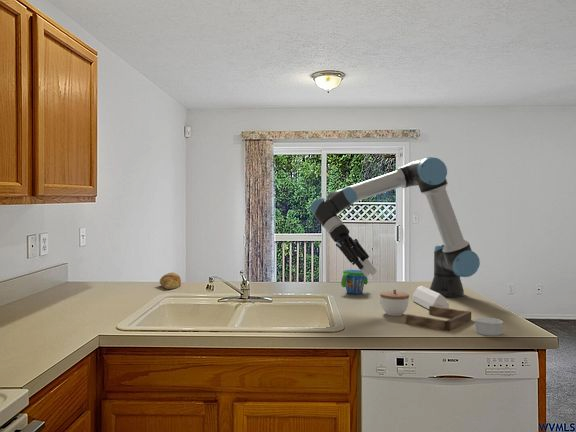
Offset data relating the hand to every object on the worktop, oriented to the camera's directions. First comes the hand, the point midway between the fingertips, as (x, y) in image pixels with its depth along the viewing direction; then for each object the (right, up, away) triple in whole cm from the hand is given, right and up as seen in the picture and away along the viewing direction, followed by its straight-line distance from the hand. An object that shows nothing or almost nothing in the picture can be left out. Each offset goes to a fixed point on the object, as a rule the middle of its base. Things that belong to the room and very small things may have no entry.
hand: (371, 273), depth 197 cm
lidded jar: (+8, -15, -6) cm, 18 cm away
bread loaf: (-90, -12, +47) cm, 102 cm away
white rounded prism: (+25, -15, +9) cm, 31 cm away
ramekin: (+33, -16, -32) cm, 49 cm away
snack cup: (-2, -13, +36) cm, 39 cm away
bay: (+21, -15, -17) cm, 31 cm away
